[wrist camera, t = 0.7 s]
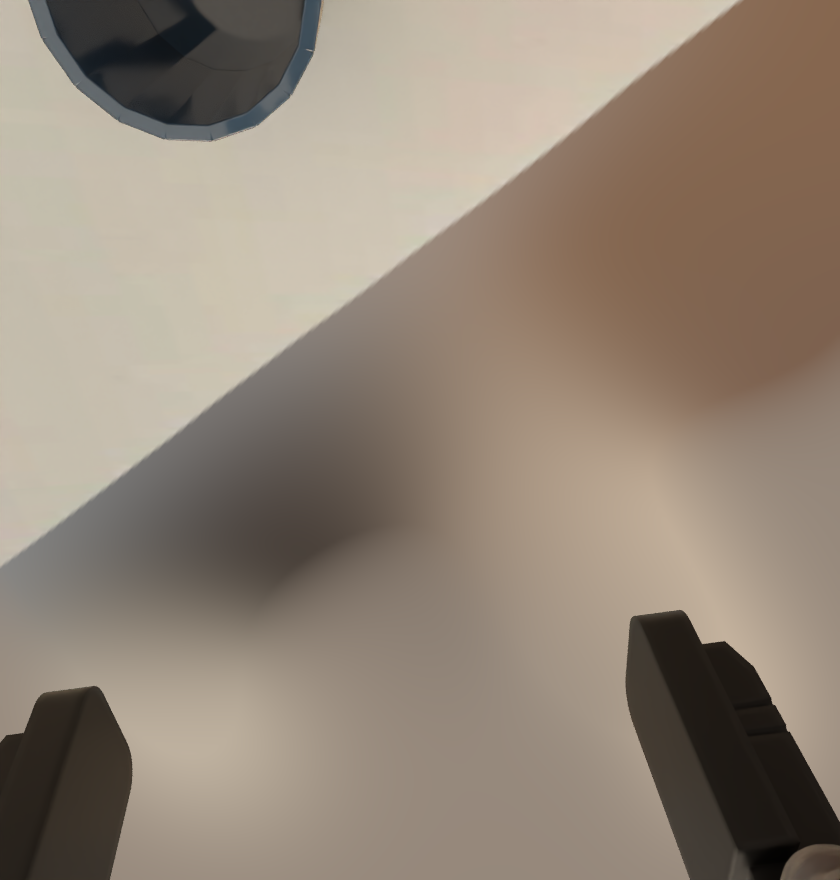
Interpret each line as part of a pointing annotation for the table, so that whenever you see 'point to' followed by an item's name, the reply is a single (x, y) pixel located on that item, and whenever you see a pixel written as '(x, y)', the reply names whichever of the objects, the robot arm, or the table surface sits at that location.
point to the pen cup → (183, 59)
